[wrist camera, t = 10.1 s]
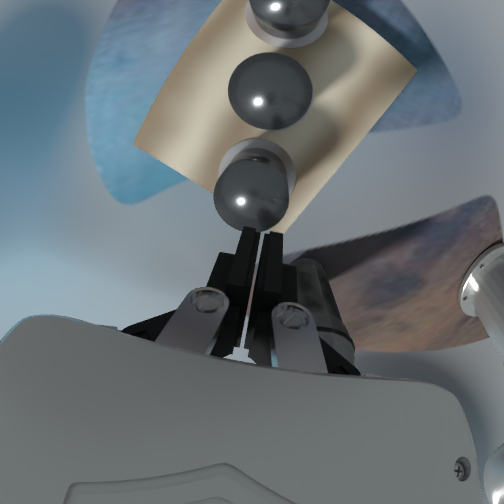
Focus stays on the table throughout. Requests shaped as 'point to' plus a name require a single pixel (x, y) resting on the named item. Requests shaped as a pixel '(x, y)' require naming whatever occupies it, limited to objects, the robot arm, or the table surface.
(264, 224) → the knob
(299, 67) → the knob mid
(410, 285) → the table surface
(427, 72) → the table surface
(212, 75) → the mount plate
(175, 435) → the robot arm
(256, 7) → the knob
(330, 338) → the beverage cup
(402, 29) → the table surface
